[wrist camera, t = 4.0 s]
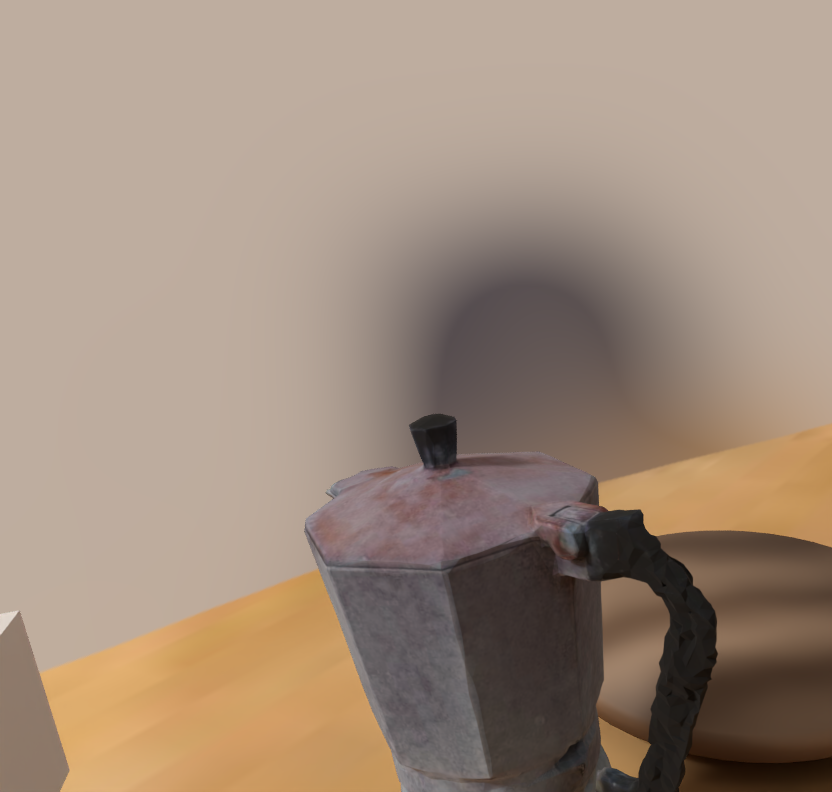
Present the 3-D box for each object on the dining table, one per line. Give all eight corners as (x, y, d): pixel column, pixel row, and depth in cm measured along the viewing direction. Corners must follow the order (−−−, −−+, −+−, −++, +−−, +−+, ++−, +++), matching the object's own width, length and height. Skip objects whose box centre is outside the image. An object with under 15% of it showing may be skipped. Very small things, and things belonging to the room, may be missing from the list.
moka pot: (470, 770, 36) (398, 367, 31) (818, 957, 26) (793, 387, 21) (315, 920, 30) (194, 446, 25) (691, 1254, 19) (610, 535, 14)
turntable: (1049, 704, 33) (1050, 676, 32) (624, 807, 31) (621, 779, 31) (787, 527, 51) (786, 508, 51) (512, 587, 50) (509, 567, 49)
